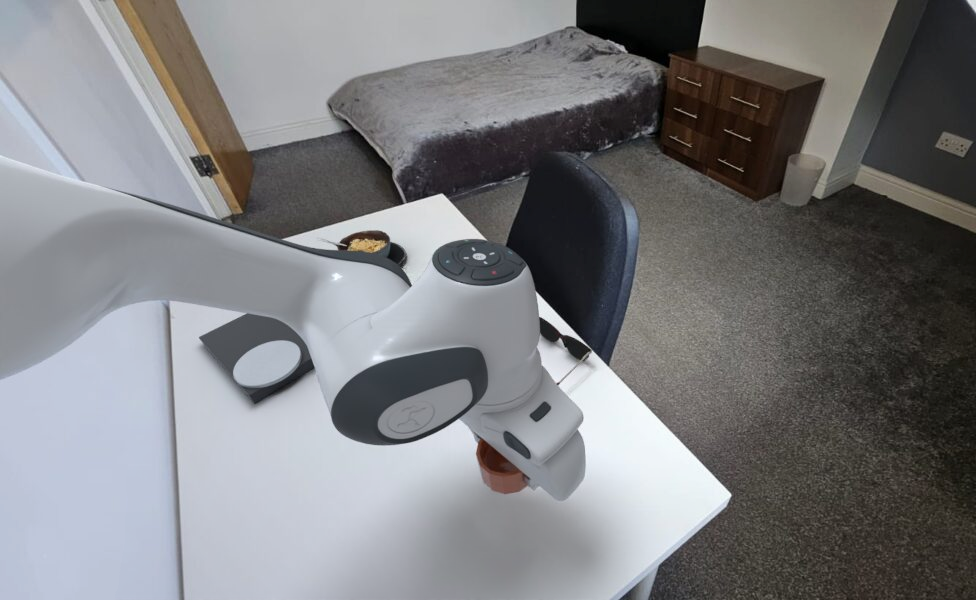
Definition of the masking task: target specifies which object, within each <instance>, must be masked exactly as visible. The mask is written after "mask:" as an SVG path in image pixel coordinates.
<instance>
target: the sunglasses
mask: <svg viewBox="0 0 976 600" xmlns="http://www.w3.org/2000/svg"><path fill="white" fill-rule="evenodd" d="M539 321H540V336H541V337H543V338H544V339H545V340H546V341H548V342H549V343H552V344H556V343H557V342H558V341H559V340H561V343H562V344H563V347H564V348H565V349H566V350H567V351H568V353H569V354H570V356H572V357H573V358H574V359H576V360H578V362H577V363H576V365H574V366H573V367H572V368H571V369H570V371H568V372H567V374H565V375H564V376H563V377H562V378H561V380H559V381H558V382H555V383H556V384H557V385H558V386H559V385H560V384H561V383H562V382H563V381H564V380H565V379H567V377H568V376H569V375H570V374H571V373H572V372H573V371H574V370H576V368H578V366H579V365H580V364H581V363H584V362H586V361H587V359H589V357H590V355H591V354H592V352H593V349H591V348H590V347H589V346H588V345H586V344H585V343H583V342H582V341H581V340H579V339H577V338H575V337H573V336H571V335H568V334H563V333H561V332H560V331H559V330H558V328H556V327H555V326H554V325H553V324H551V323H550V322H549V321H547V320H546V319H545V318H543V317H541V316H539Z"/></svg>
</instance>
